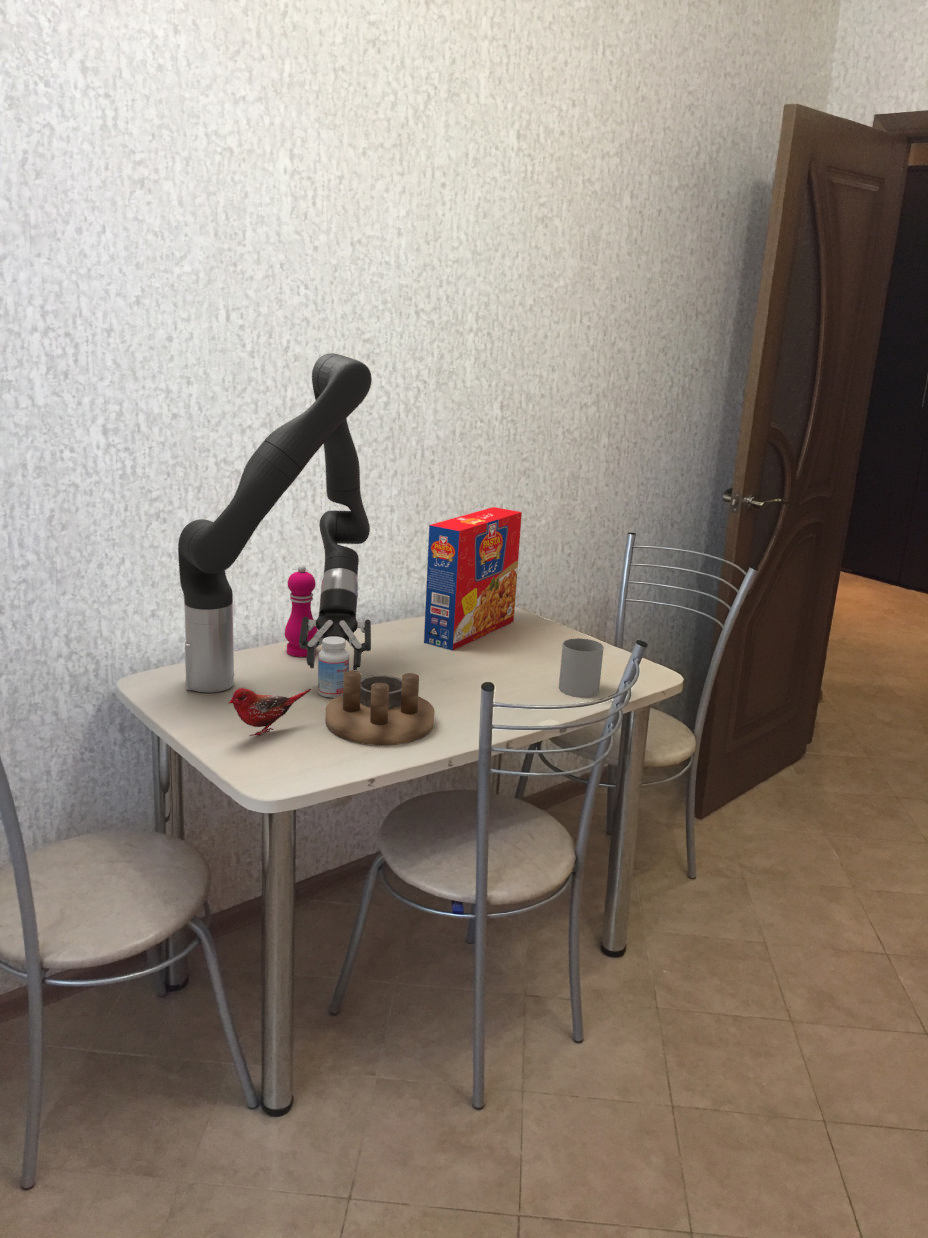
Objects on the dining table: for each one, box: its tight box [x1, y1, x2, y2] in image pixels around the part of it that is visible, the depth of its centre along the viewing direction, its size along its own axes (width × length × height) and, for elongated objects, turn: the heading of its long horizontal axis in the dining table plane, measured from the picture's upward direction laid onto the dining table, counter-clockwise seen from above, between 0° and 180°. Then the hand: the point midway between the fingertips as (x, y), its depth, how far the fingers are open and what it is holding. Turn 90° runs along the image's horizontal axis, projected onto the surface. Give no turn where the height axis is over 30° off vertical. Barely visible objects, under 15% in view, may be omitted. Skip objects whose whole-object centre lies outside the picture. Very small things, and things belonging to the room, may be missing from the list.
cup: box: [558, 637, 604, 699], centre depth 212 cm, size 8×8×10 cm
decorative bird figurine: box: [228, 687, 312, 737], centre depth 184 cm, size 3×18×10 cm, turn 134°
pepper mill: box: [284, 564, 319, 658], centre depth 222 cm, size 7×7×20 cm
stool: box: [324, 670, 436, 746], centre depth 190 cm, size 20×20×10 cm
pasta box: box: [423, 506, 523, 652], centre depth 241 cm, size 28×8×28 cm, turn 148°
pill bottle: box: [317, 637, 350, 699], centre depth 202 cm, size 6×6×11 cm
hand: (333, 667), depth 201 cm, fingers open, 8 cm apart
